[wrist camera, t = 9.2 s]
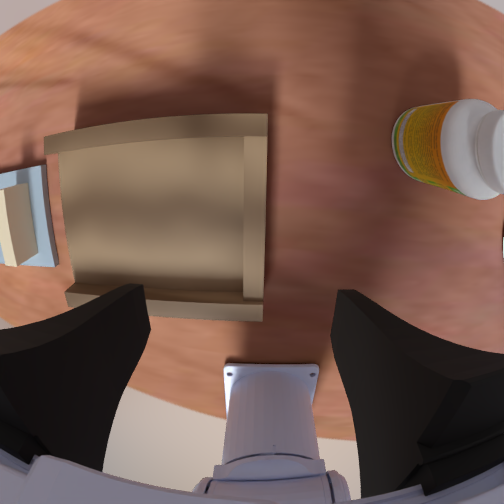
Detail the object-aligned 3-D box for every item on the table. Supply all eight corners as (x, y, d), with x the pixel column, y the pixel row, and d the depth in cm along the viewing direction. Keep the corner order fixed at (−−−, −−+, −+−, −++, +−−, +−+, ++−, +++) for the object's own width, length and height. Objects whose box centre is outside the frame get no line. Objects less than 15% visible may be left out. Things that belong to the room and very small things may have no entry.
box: (262, 294, 21) (262, 321, 18) (90, 285, 22) (68, 306, 18) (266, 120, 17) (267, 113, 14) (73, 135, 18) (44, 136, 14)
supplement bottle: (398, 188, 19) (488, 227, 9) (380, 113, 17) (469, 96, 8) (455, 173, 18) (549, 201, 9) (440, 103, 16) (536, 94, 7)
